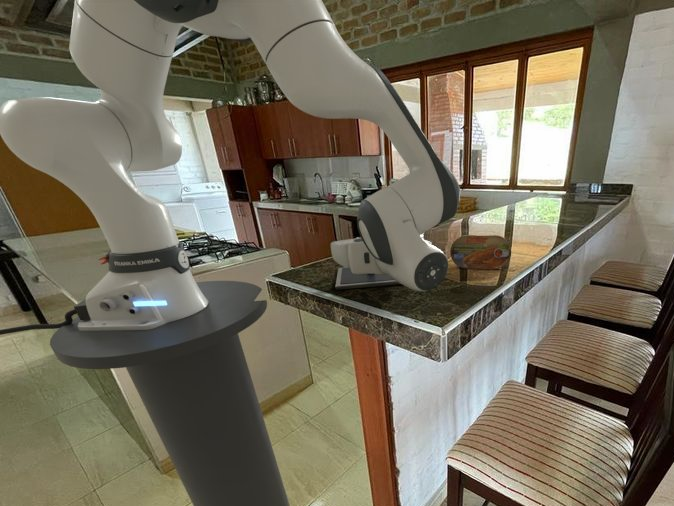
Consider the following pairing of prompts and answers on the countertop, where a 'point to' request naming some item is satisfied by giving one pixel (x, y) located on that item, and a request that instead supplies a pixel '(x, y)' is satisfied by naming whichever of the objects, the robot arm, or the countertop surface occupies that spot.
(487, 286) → the countertop surface
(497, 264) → the tin
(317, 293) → the countertop surface
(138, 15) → the robot arm
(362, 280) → the tablet
